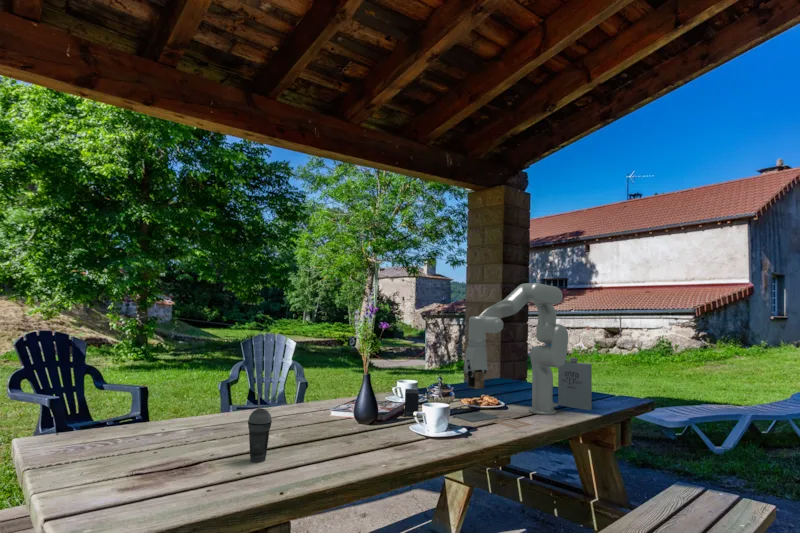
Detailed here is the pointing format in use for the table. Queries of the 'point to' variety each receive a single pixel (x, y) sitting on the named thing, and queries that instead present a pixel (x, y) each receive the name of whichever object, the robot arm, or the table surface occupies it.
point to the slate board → (475, 416)
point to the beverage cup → (259, 433)
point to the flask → (575, 385)
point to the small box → (411, 401)
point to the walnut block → (478, 380)
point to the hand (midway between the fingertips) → (475, 385)
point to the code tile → (513, 423)
